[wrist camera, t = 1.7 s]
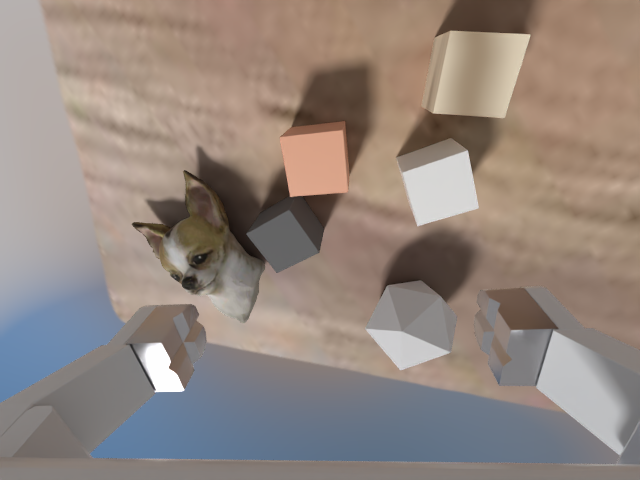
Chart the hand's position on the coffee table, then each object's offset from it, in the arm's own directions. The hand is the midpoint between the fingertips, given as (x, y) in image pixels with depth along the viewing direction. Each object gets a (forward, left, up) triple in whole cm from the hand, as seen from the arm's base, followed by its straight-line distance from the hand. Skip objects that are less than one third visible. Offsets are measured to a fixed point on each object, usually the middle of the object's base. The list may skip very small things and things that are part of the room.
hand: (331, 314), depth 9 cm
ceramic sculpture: (+16, +9, -23) cm, 30 cm away
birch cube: (-9, -5, -23) cm, 25 cm away
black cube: (+7, +7, -23) cm, 25 cm away
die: (-5, +18, -23) cm, 30 cm away
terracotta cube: (+3, 0, -23) cm, 23 cm away
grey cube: (-7, +3, -23) cm, 24 cm away
